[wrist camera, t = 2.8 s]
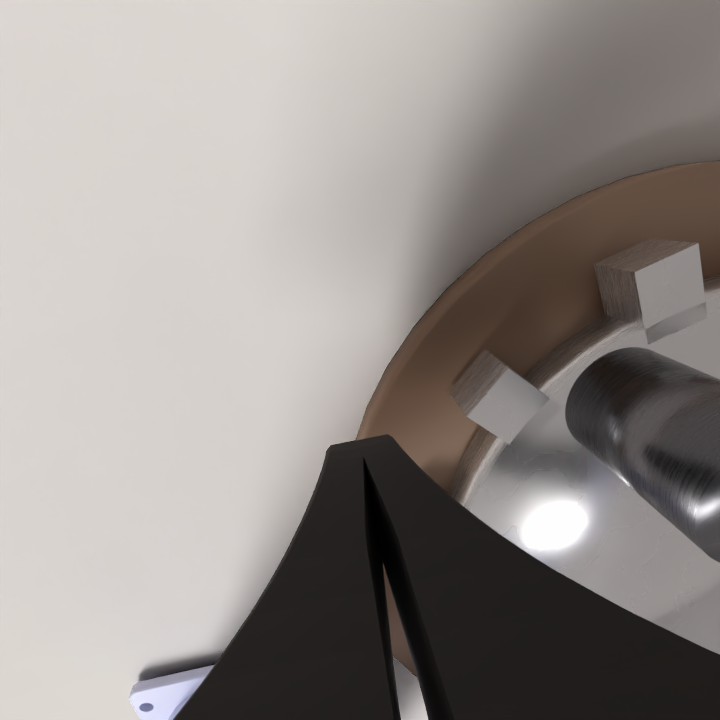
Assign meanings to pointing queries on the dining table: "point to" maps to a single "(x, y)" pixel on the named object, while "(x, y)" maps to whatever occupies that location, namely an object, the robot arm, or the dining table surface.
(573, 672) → the robot arm
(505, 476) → the sprocket
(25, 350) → the dining table surface
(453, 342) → the sprocket base
